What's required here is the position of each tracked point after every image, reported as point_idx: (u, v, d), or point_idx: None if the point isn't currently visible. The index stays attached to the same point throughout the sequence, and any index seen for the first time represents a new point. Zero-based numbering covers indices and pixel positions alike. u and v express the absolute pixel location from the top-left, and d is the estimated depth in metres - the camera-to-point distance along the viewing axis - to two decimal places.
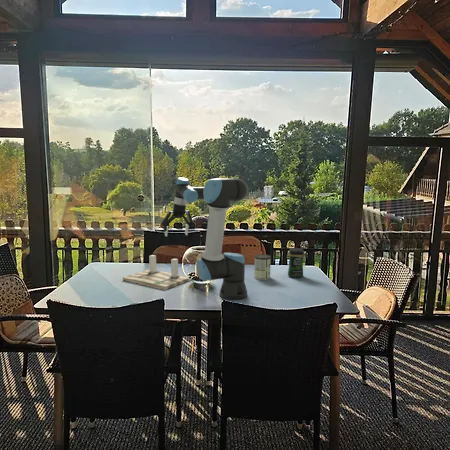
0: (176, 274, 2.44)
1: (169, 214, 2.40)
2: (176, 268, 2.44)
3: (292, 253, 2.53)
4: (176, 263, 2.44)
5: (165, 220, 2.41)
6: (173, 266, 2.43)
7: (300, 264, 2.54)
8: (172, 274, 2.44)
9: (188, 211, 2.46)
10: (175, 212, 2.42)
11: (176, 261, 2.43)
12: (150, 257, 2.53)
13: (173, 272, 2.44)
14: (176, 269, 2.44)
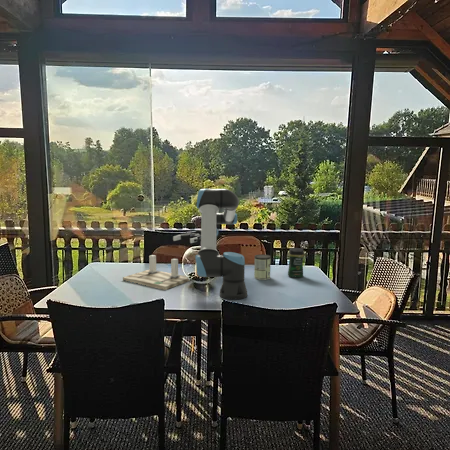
0: (176, 274, 2.44)
1: None
2: (176, 268, 2.44)
3: (292, 253, 2.53)
4: (176, 263, 2.44)
5: (181, 234, 2.62)
6: (173, 266, 2.43)
7: (300, 264, 2.54)
8: (172, 274, 2.44)
9: None
10: None
11: (176, 261, 2.43)
12: (150, 257, 2.53)
13: (173, 272, 2.44)
14: (176, 269, 2.44)
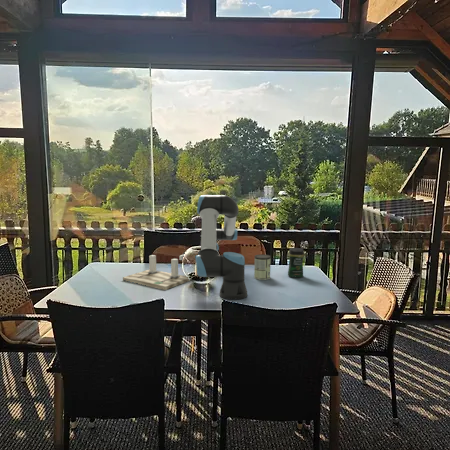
0: (176, 274, 2.44)
1: None
2: (176, 268, 2.44)
3: (292, 253, 2.53)
4: (176, 263, 2.44)
5: None
6: (173, 266, 2.43)
7: (300, 264, 2.54)
8: (172, 274, 2.44)
9: None
10: None
11: (176, 261, 2.43)
12: (150, 257, 2.53)
13: (173, 272, 2.44)
14: (176, 269, 2.44)
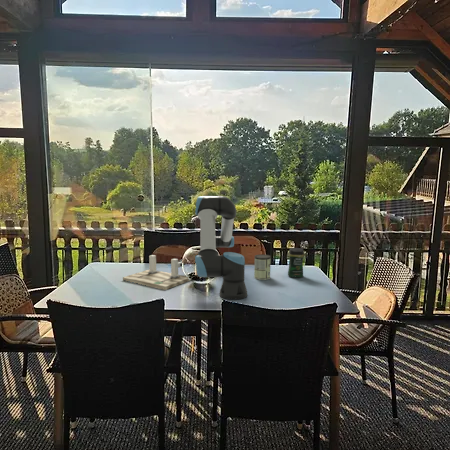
0: (176, 274, 2.44)
1: None
2: (176, 268, 2.44)
3: (292, 253, 2.53)
4: (176, 263, 2.44)
5: None
6: (173, 266, 2.43)
7: (300, 264, 2.54)
8: (172, 274, 2.44)
9: None
10: None
11: (176, 261, 2.43)
12: (150, 257, 2.53)
13: (173, 272, 2.44)
14: (176, 269, 2.44)
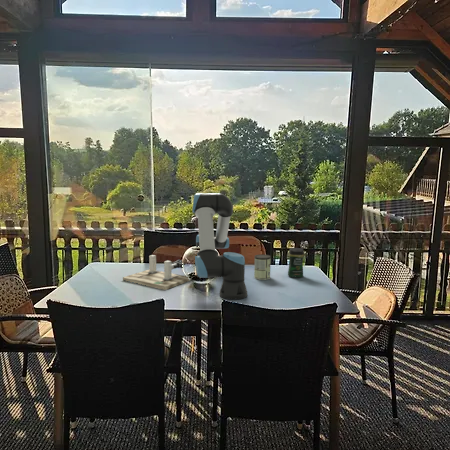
0: (169, 276, 2.39)
1: (178, 260, 2.56)
2: (169, 270, 2.39)
3: (292, 253, 2.53)
4: (169, 265, 2.38)
5: None
6: (166, 268, 2.38)
7: (300, 264, 2.54)
8: (165, 276, 2.39)
9: None
10: None
11: (169, 263, 2.38)
12: (150, 257, 2.53)
13: (166, 274, 2.38)
14: (169, 271, 2.39)
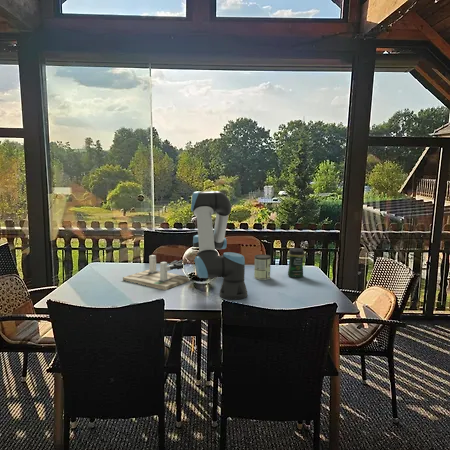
0: (165, 278, 2.36)
1: (174, 261, 2.53)
2: (165, 272, 2.36)
3: (292, 253, 2.53)
4: (165, 266, 2.35)
5: None
6: (162, 269, 2.35)
7: (300, 264, 2.54)
8: (161, 278, 2.36)
9: None
10: None
11: (165, 264, 2.35)
12: (150, 257, 2.53)
13: (162, 276, 2.35)
14: (165, 273, 2.36)
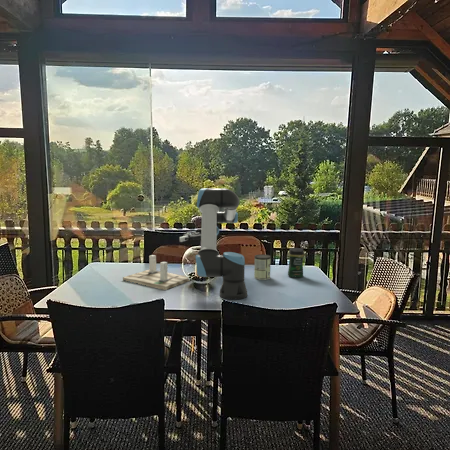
0: (165, 278, 2.36)
1: (188, 232, 2.62)
2: (165, 271, 2.36)
3: (292, 253, 2.53)
4: (165, 266, 2.35)
5: (185, 234, 2.58)
6: (162, 269, 2.35)
7: (300, 264, 2.54)
8: (161, 278, 2.36)
9: None
10: None
11: (165, 264, 2.35)
12: (150, 257, 2.53)
13: (162, 276, 2.35)
14: (165, 273, 2.36)
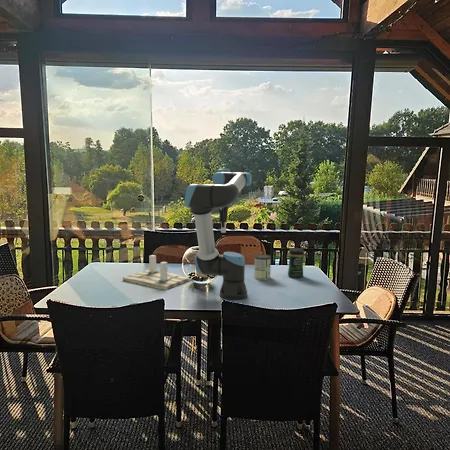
0: (165, 278, 2.36)
1: (223, 209, 2.40)
2: (165, 271, 2.36)
3: (292, 253, 2.53)
4: (165, 266, 2.35)
5: (223, 216, 2.41)
6: (162, 269, 2.35)
7: (300, 264, 2.54)
8: (161, 278, 2.36)
9: None
10: None
11: (165, 264, 2.35)
12: (150, 257, 2.53)
13: (162, 276, 2.35)
14: (165, 273, 2.36)
